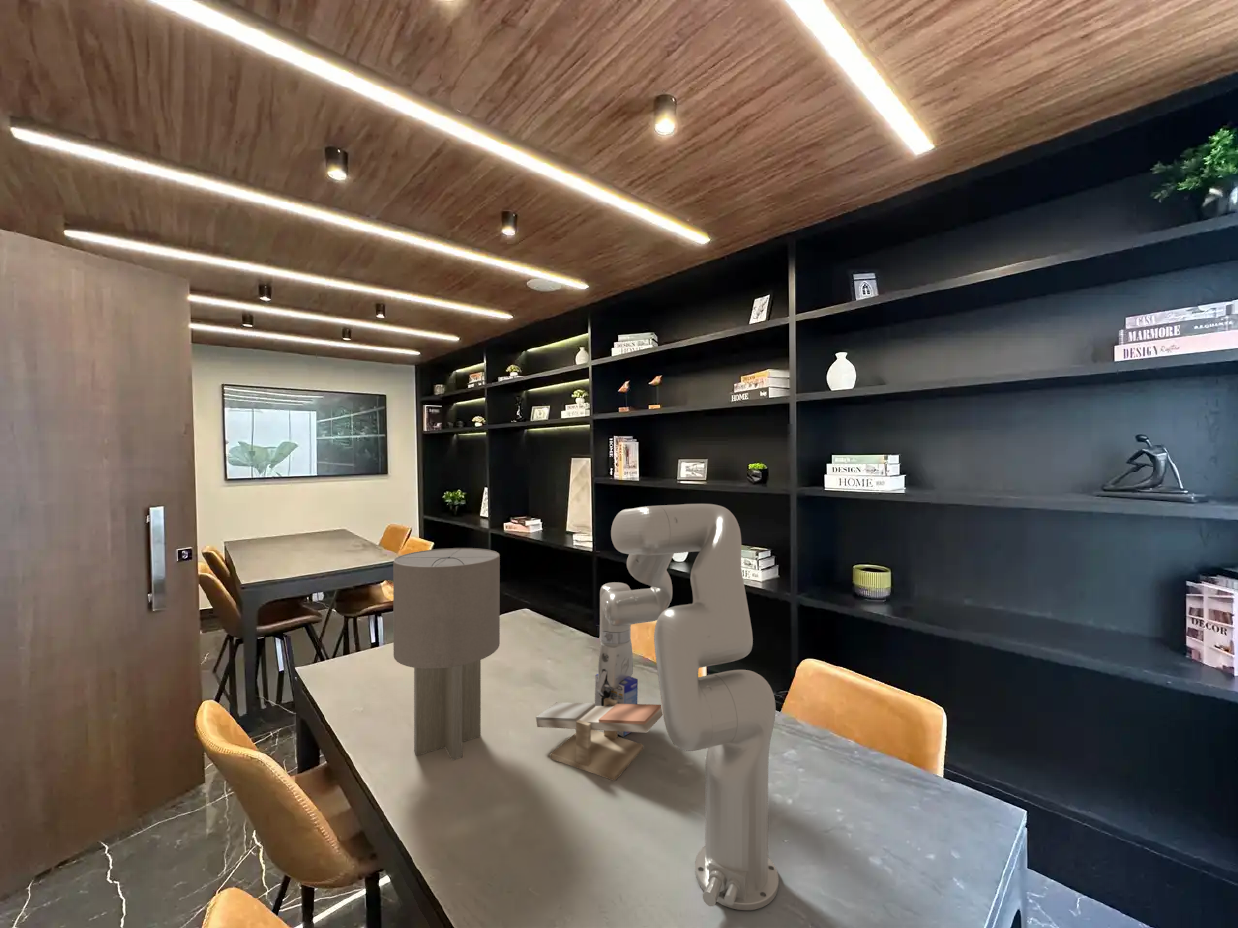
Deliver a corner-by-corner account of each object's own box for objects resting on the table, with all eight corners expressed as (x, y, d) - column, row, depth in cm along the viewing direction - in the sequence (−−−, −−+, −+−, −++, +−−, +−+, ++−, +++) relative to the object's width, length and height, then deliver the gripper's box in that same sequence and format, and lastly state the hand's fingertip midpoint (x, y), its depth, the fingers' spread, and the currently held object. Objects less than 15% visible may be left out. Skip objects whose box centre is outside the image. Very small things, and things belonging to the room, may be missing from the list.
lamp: (404, 787, 100) (404, 571, 100) (385, 735, 119) (385, 553, 119) (514, 751, 113) (514, 559, 112) (481, 709, 132) (481, 544, 132)
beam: (664, 712, 110) (662, 702, 110) (644, 734, 101) (642, 723, 101) (560, 709, 123) (558, 700, 123) (534, 728, 114) (532, 718, 114)
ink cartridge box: (639, 728, 122) (639, 669, 122) (624, 738, 118) (624, 676, 118) (608, 715, 129) (608, 658, 129) (593, 723, 125) (593, 665, 125)
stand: (643, 748, 114) (643, 706, 114) (614, 780, 102) (614, 733, 102) (583, 730, 122) (583, 691, 121) (550, 758, 110) (550, 714, 110)
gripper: (611, 649, 114) (610, 728, 115) (644, 626, 129) (643, 696, 130) (582, 643, 118) (582, 720, 118) (618, 622, 133) (618, 690, 133)
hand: (614, 707), depth 124 cm, fingers closed on ink cartridge box, 6 cm apart
